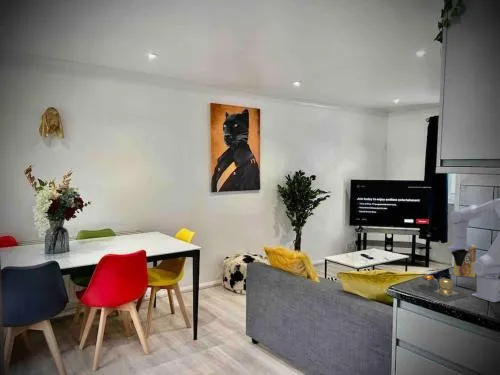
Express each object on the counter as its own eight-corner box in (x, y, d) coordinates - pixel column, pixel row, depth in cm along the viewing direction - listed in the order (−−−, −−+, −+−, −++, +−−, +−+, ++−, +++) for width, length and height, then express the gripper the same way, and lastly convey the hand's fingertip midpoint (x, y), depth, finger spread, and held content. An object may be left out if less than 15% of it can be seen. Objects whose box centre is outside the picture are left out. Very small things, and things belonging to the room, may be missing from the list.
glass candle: (455, 292, 156) (455, 281, 156) (446, 294, 155) (446, 282, 154) (444, 289, 161) (445, 277, 161) (436, 290, 159) (436, 279, 159)
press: (467, 296, 156) (467, 285, 156) (446, 301, 150) (446, 290, 150) (432, 284, 171) (432, 274, 171) (412, 288, 166) (412, 278, 166)
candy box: (472, 275, 186) (473, 245, 185) (475, 277, 182) (476, 246, 181) (453, 273, 188) (453, 244, 187) (455, 276, 184) (456, 245, 183)
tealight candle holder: (435, 286, 165) (436, 276, 164) (428, 287, 163) (429, 277, 163) (427, 283, 169) (427, 274, 168) (420, 285, 167) (420, 275, 167)
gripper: (461, 233, 175) (460, 261, 176) (441, 236, 168) (440, 265, 169) (476, 236, 168) (475, 265, 169) (455, 239, 162) (454, 269, 163)
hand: (458, 265), depth 169 cm, fingers closed
